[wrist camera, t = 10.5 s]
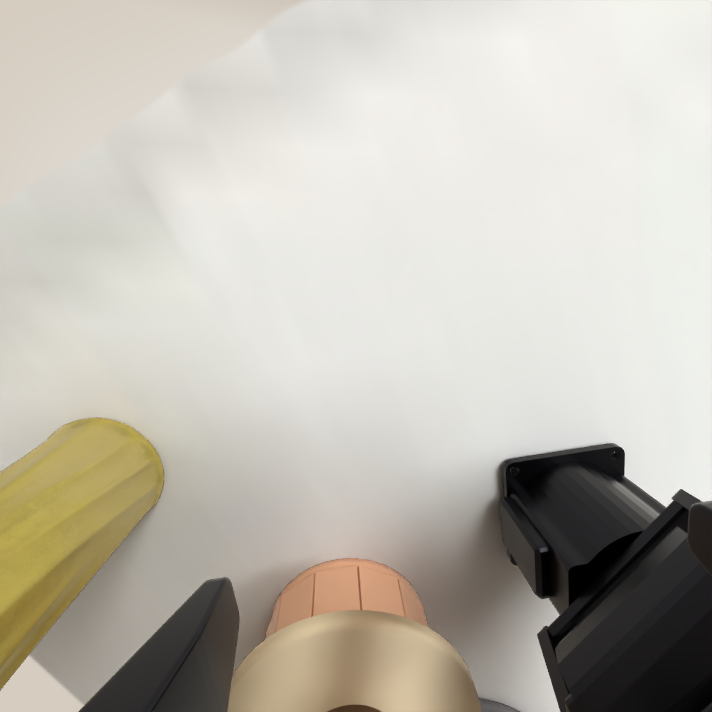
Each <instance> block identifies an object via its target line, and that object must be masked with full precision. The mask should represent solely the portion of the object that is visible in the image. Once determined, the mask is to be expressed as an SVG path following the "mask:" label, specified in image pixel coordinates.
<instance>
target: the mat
mask: <svg viewBox="0 0 712 712" xmlns="http://www.w3.org/2000/svg"><path fill="white" fill-rule="evenodd" d="M479 702H480V705H481V710H482V712H519V711H517V710H515V709H513V708H511V707H509V706H507V705H504V704H501V703H498V702H494V701H489V700H484V699H479Z"/></svg>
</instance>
